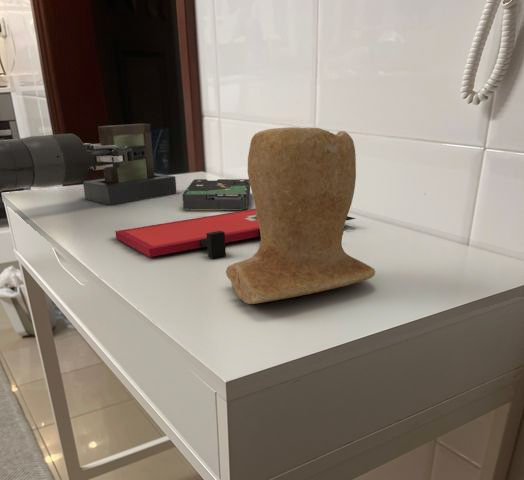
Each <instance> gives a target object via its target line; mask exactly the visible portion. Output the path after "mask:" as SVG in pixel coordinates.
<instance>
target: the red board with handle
mask: <svg viewBox="0 0 524 480" xmlns="http://www.w3.org/2000/svg"><path fill="white" fill-rule="evenodd" d="M355 219H356V220H357V218H356V217H352V216H348V215H347V218H346V221H351V220H355ZM114 233H115V239H116V240H119V241H120V242H122V243H124V244H126V245H127V246H129V247H130V248H133V249H134V250H137V251H138V252H140V253H141V254H143V255H146V256H147V257H149V258H151V257H153V258H154V257H157V256H162V255H168V254H173V253H179V252H184V251H188V250H194V249H200V248H201V249H202V248H207V257H208V258H209V259H211V260H213V259H217V258H221V257H222V258H223V257H226V256H227V251H226V249H227V248H226V243H232V242H237V241H243V240H247V239H252V238H258V237H261V235H260V228H259V223H258V218H257V212H256V208H252V209H243V210H239V211H232V212H226V213H220V214H213V215H208V216H202V217H201V216H200V217H196V218H195V217H194V218H188V219H183V220H182V219H181V220H175V221H170V222H163V223H157V224H151V225H144V226H139V227H132V228H126V229H119V230H115V231H114Z"/></svg>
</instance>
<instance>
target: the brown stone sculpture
mask: <svg viewBox="0 0 524 480" xmlns="http://www.w3.org/2000/svg"><path fill="white" fill-rule="evenodd" d="M356 157H357V154H356V146H355V143H354V140H353V138H352V136H351V135H350V134H349V133H348V132H347V131H346V130H345V131H344V130H340V131H338V132H337V133H336V134H335V133H333V132H330V131H329V130H326V129H323V128H321V127H299V126H298V127H294V126H293V127H275V128H269V129H263V130H260V131H258V132H256V133H255V134H253V136H252V137H251V139H250V144H249V148H248V155H247V176H248V177H247V178H248V179H249V183H250V191H251V194H252V198H253V202H254V203H253V204H254V209H256V212H257V218H258V223H259V228H260V235H261V236H260V241H259V242H260V243H259V247H258V249H257V252H255V253H254V254H253V255H252V256H251V257H249V258H247V259H243V260H240V261H238V262H234V263H232V264H229V265H228V266H227V267H226V270H225V274H226V277H227V278H228V279H229V280H230V283H231V287H232V289H234V292H235V293H236V295H237V297H238V298H239V299H240V300H242V302H244V303H245V304H247V305H255V304H261V303H268V302H273V301H278V300H286V299H290V298H296V297H300V296H305V295H306V296H307V295H312V294H315V293H320V292H324V291H329V290H334V289H337V288H341V287H342V288H343V287H347V286H350V285H353V284H356V283H361V282H364V281H367V280H370V279H371V278H373V277H374V276H375V273H376V270H375V268H374V267H371V266H370V265H368V264H367V263H365V262H363V261H361V260H359V259H357V258H354V257H352V256H350V255H349V254H347V253H346V252H345V250H344V248H343V245H342V244H343V243H342V241H343V235H344V230H345V225H346V222H347V220H346V218H347V216H348V215H349V212H350V210H351V207H352V203H353V199H354V195H355V194H354V193H355V189H356V181H357V158H356Z"/></svg>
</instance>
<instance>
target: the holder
mask: <svg viewBox="0 0 524 480" xmlns="http://www.w3.org/2000/svg"><path fill="white" fill-rule="evenodd" d="M154 176H155V177H154V178H147V179H141V180H134V181H127V182H120V183H114V184H106V183H105V178H99V179H98V178H97V179H91V180H84V181H82V184H83V192H84V198H85V200H87V201H92V202H96V203H100V204H103V205H104V204H105V205H108V206H112V205H119V204H123V203H130V202H134V201H141V200H145V199H152V198H157V197H158V198H159V197H164V196H169V195H176V194H177V179H176V176H175V175H170V174H169V175H168V174H163V173H157V172H154Z"/></svg>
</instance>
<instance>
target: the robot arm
mask: <svg viewBox="0 0 524 480" xmlns="http://www.w3.org/2000/svg"><path fill="white" fill-rule="evenodd" d="M146 158H147V147H146V146H131V147H127V146H124V147H118V146H117V145H101V144H100V143H92V142H83V141H82V139H81V138H80V137H79V136H77V135H76V134H74V133H57V134H45V135H43V134H42V135H32V136H27V137H22V138H12V139H11V138H10V139H0V192H3V191H11V190H19V189H20V190H21V189H27V188H49V187H55V186H63V185H69V184H71V185H72V184H77V183H83V182H84V181H86V179H87V177H88V176H89V175H88V174H89V170H90V169H91V170H93V171H102V170H103V171H104V169H105V168H107V167H115V168H119V167H121V166H125V165H128V164H132V163H134V162H133V160H141V159H146ZM111 162H112V163H111Z"/></svg>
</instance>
